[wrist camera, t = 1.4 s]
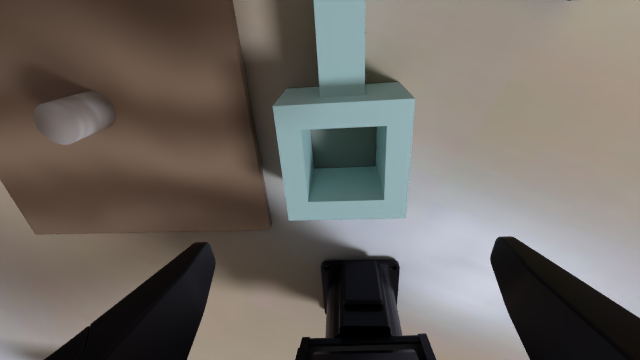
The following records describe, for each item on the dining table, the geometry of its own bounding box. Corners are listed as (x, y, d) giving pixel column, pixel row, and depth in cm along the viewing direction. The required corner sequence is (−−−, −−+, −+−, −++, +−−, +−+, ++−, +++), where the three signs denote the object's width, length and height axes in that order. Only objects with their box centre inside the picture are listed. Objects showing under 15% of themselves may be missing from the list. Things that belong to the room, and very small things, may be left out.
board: (271, 223, 24) (259, 259, 20) (43, 228, 26) (-4, 261, 22) (213, -107, 15) (173, -147, 11) (-138, -65, 16) (-269, -89, 13)
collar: (393, 182, 22) (405, 218, 18) (298, 185, 22) (288, 220, 18) (404, -26, 16) (426, -43, 12) (274, -15, 16) (253, -27, 12)
